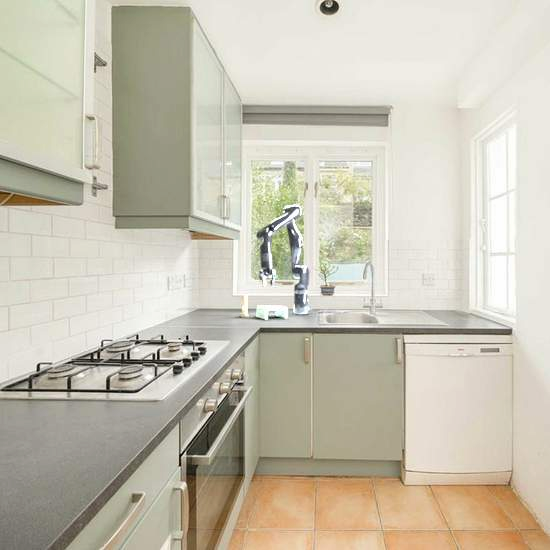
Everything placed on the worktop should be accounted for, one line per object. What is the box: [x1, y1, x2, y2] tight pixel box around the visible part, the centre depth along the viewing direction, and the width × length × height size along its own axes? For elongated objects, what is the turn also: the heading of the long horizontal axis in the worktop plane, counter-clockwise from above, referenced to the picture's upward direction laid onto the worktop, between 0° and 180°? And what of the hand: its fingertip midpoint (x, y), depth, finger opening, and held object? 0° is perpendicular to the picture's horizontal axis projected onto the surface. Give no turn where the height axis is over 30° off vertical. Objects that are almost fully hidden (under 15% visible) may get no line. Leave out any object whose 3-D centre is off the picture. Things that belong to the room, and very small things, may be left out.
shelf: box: [255, 304, 289, 320], centre depth 299 cm, size 16×14×7 cm
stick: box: [240, 294, 249, 318], centre depth 304 cm, size 5×5×14 cm
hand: (268, 286), depth 294 cm, fingers open, 8 cm apart
